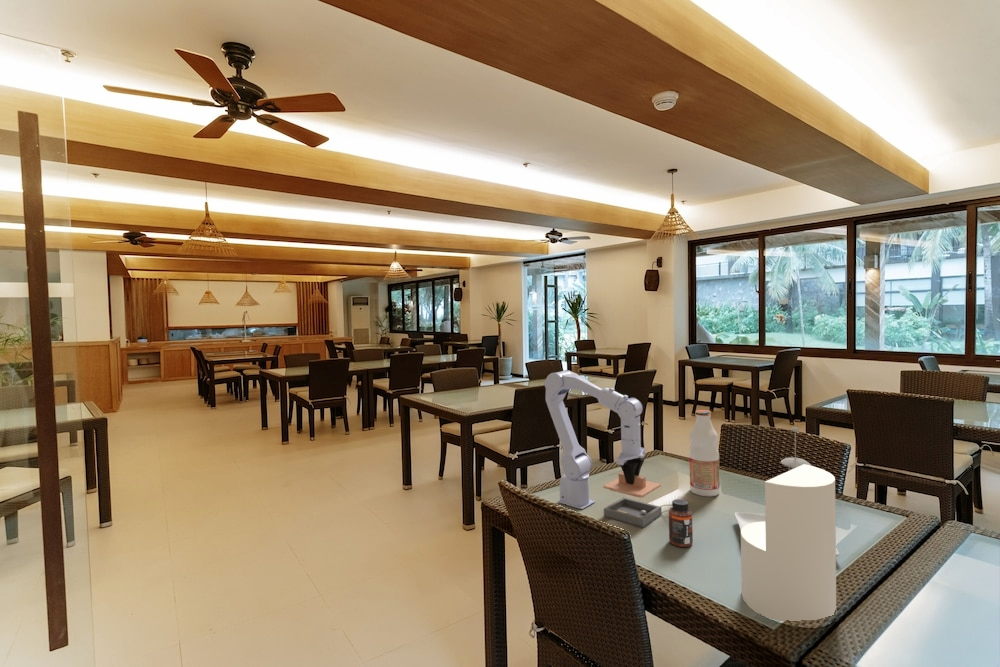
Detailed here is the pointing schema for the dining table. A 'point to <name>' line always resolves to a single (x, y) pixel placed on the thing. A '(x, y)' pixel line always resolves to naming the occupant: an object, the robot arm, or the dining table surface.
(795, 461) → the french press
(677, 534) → the supplement bottle
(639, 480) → the lid
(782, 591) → the white stepped round block
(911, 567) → the dining table surface
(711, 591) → the dining table surface
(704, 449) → the fruit juice
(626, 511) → the tub
